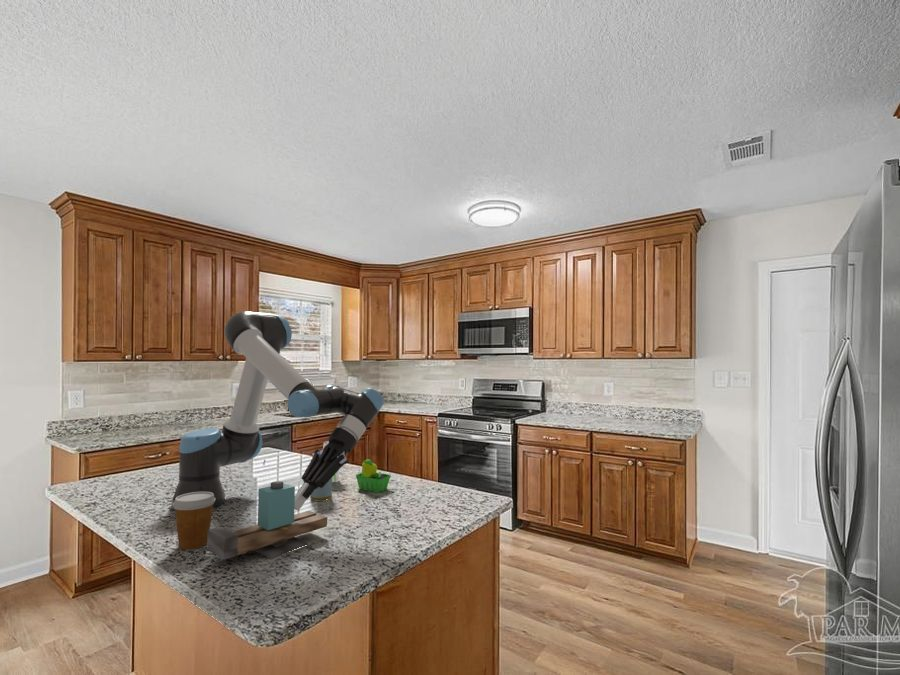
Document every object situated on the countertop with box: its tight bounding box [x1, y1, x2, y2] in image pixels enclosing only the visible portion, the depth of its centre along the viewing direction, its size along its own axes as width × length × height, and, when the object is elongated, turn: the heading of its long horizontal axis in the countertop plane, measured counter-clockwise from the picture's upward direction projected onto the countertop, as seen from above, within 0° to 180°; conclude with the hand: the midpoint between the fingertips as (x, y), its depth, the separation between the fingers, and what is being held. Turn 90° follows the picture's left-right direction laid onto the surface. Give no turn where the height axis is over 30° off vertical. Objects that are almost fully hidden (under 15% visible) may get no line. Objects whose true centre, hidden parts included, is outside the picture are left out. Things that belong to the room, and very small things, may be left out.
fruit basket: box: [355, 458, 392, 493], centre depth 169 cm, size 11×9×11 cm
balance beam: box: [206, 510, 328, 561], centre depth 116 cm, size 27×12×7 cm, turn 140°
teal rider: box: [257, 480, 296, 530], centre depth 117 cm, size 7×5×12 cm
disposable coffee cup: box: [173, 492, 216, 550], centre depth 118 cm, size 10×10×12 cm
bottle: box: [309, 452, 333, 501], centre depth 158 cm, size 7×7×15 cm
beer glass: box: [322, 440, 341, 483], centre depth 180 cm, size 7×7×15 cm
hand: (293, 507), depth 121 cm, fingers closed
